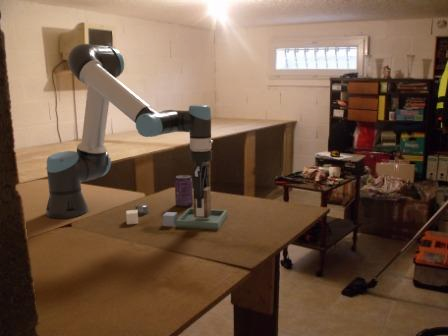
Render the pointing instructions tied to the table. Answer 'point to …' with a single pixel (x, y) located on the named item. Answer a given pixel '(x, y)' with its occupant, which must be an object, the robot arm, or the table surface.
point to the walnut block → (206, 202)
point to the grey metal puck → (142, 209)
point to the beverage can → (183, 190)
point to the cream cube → (132, 216)
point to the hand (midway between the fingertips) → (202, 213)
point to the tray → (202, 220)
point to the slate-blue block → (170, 219)
